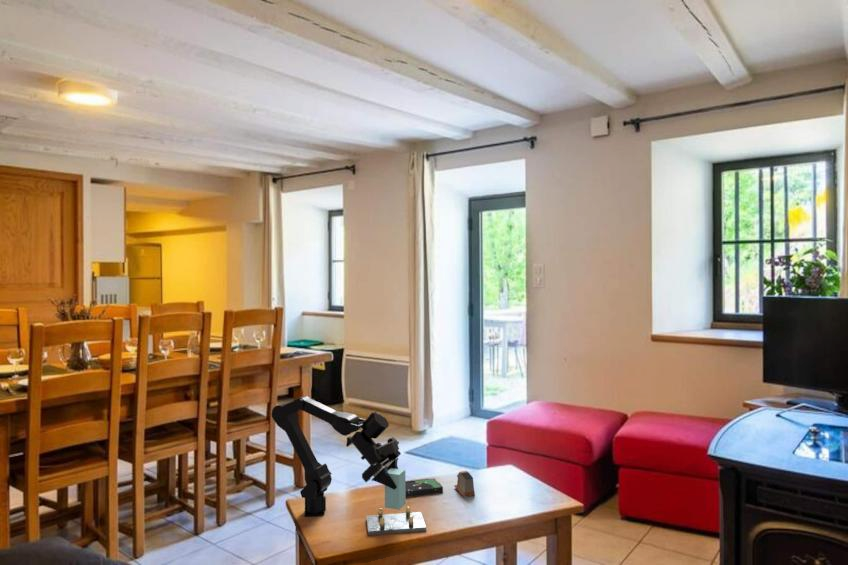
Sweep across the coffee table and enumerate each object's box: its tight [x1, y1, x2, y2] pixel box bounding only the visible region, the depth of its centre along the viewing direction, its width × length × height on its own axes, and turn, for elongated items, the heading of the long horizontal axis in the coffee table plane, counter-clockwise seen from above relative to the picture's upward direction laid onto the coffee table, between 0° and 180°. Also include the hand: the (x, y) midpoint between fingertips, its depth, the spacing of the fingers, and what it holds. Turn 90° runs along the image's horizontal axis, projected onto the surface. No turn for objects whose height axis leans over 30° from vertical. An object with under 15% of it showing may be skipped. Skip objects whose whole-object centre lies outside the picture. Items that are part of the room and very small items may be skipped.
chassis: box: [365, 505, 427, 536], centre depth 184 cm, size 18×12×4 cm, turn 98°
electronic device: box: [453, 470, 476, 498], centre depth 212 cm, size 4×10×8 cm, turn 19°
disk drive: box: [405, 478, 444, 498], centre depth 214 cm, size 10×3×15 cm
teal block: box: [384, 468, 407, 511], centre depth 184 cm, size 5×5×11 cm
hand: (399, 485), depth 183 cm, fingers closed on teal block, 5 cm apart
